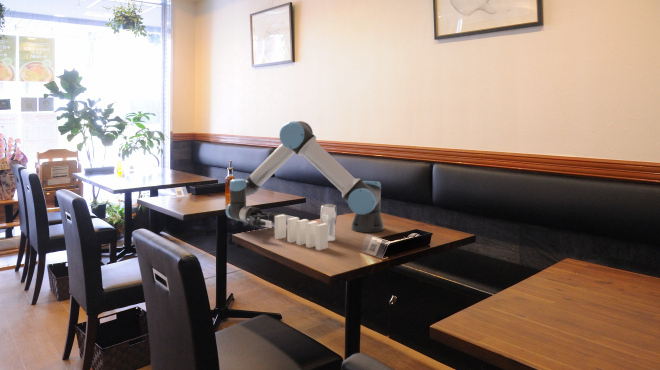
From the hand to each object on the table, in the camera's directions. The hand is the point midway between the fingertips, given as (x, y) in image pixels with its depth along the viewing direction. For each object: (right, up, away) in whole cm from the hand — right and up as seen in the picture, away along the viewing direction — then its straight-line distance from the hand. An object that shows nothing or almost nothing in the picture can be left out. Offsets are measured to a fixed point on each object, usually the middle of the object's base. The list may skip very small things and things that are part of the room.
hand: (283, 222), depth 210 cm
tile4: (+13, -9, -10) cm, 19 cm away
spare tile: (-1, -7, +2) cm, 8 cm away
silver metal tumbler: (+20, -8, 0) cm, 21 cm away
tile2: (+5, -8, -3) cm, 10 cm away
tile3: (+9, -8, -6) cm, 14 cm away
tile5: (+17, -10, -14) cm, 24 cm away
